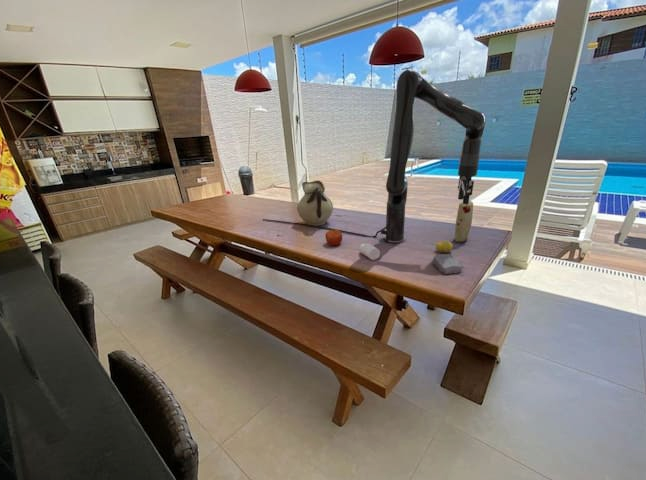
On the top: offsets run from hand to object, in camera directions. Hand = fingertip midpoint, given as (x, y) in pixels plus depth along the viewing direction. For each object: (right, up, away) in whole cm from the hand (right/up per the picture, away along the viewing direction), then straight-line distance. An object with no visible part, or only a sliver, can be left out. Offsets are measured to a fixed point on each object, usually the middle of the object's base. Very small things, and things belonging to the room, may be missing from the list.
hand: (462, 201), depth 137 cm
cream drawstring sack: (-68, -2, +57) cm, 88 cm away
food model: (+7, -16, +18) cm, 25 cm away
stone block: (-10, -30, -8) cm, 32 cm away
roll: (-42, -24, +8) cm, 48 cm away
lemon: (-6, -22, +6) cm, 24 cm away
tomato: (-57, -17, +23) cm, 64 cm away
